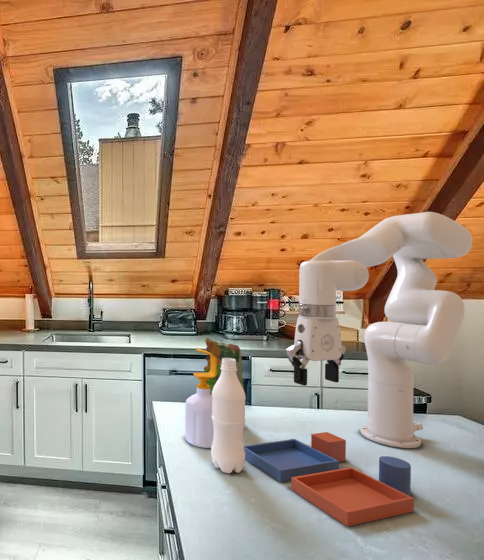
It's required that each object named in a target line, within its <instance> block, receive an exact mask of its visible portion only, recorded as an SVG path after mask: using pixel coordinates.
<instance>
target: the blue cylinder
mask: <svg viewBox="0 0 484 560" xmlns="http://www.w3.org/2000/svg"><path fill="white" fill-rule="evenodd" d="M411 480H412V465H411V464H410V462H408V461H406V460H404V459H401V458H400V457H399V458H398V457H394V456H389V455H382V456H379V458H378V481H380V482H382V483H384V484H386V485H388V486H390V487H392V488H394V489H396V490H398V491H400V492H402V493H404V494H406V495H408V496H410V497H411V493H412V492H411V486H412V485H411V484H412V483H411V482H412V481H411Z"/></svg>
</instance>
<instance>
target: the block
mask: <svg viewBox="0 0 484 560" xmlns="http://www.w3.org/2000/svg"><path fill="white" fill-rule="evenodd" d="M310 437H311V438H310V447H312V448H314V449H316V450H318V451H320V452H322V453H324V454H326V455H328V456H330V457H332V458H334V459H336V460H338V461H339V463H340V462H345V461H346V458H347V457H346V454H347V453H346V451H347V449H346V448H347V441H346V439H344V438H343V437H340V436H337V435H336V434H333V433H330V432H328V431H323V432H316V433H311V435H310Z"/></svg>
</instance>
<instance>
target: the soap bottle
mask: <svg viewBox="0 0 484 560" xmlns="http://www.w3.org/2000/svg"><path fill="white" fill-rule="evenodd" d="M195 350H196V351H197V352H199V353H202V354H205V355H207V354H208V355H210V358H211V362H210V372H209V373H204V372H193V373H192V374H193V376H194V377H195V378H196V379H197V380H199V383H197V384H196V393H194V394H192V395H190V396H189V397H187V399H186V400H185V403H184V404H185V407H184V408H185V409H184V410H185V411H184V412H185V415H184V420H185V421H184V433H185V434H184V439H185V441H186V442H187V443H188V444H189V445H192V446H195V447H197V448H204V449H211V447H212V443H213V436H214V427H213V421H212V396H211V395H210V386H209V385H207V381H208V380H209V378H215V377H216V375H217V358H216V356H214V355H213V354H211V353H210V352H208V351H207V350H206V349H201V348H198V347H196V348H195ZM208 355H207V356H208Z"/></svg>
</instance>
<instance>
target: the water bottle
mask: <svg viewBox="0 0 484 560" xmlns="http://www.w3.org/2000/svg"><path fill="white" fill-rule="evenodd" d="M221 366H222V367H221V368H220V369H221V375H220V377H219V379H218V380H217V382H216V384H215V386H214V388H213V391H212V421H213V427H214V436H213V443H212V447H211V448H210V449H211V451H210V455H211V461H212V464H213V465H214V468H216V469H220V471H221V472H223V473H226V474H231V473H232V472H235V473H237V474H238V473H241V472H242V470H243V469H244V466H245V463H246V459H245V450H244V446H245V445H244V429H245V426H244V424H246V399H247V398H246V392H245V389H244V390H243V388H242V385H241V384H240V382H239V380H238V378H237V375H236V371H237V369H236V359H233V358H222V365H221Z"/></svg>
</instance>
